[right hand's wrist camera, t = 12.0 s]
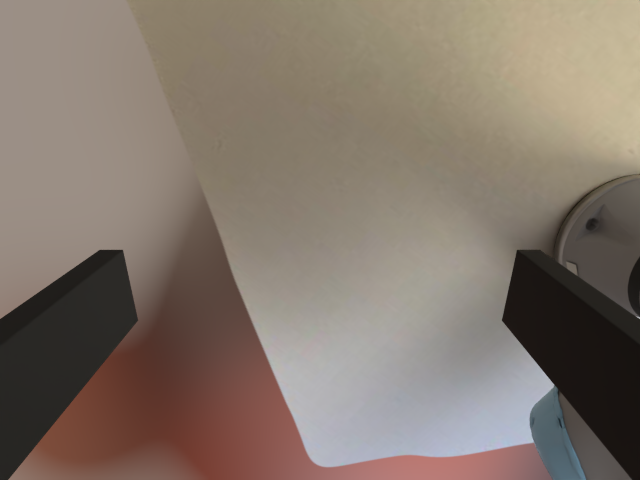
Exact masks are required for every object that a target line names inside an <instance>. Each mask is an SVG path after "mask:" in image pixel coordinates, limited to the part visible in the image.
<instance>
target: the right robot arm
mask: <svg viewBox="0 0 640 480" xmlns="http://www.w3.org/2000/svg"><path fill="white" fill-rule="evenodd" d="M636 316H638V317H640V174H639V175H631V176H626V177H622V178H619V179H616V180H613V181H611V182H608V183H606V184H604V185H602V186H601V187H599V188H597V189H596V190H594V191H592V192H591V193H590V194H588V195H587V196H586V197H585V198H583V199H582V200H581V201H580V202H579V203H578V204H577V205H576V206H575V207H574V208H573V210H572V211H571V212H570V213H569V215H568V216H567V218H566V219H565V221H564V222H563V224H562V226H561V228H560V230H559V233H558V236H557V239H556V243H555V249H554V259H552V258H551V257H550V256H548V255H547V254H545V253H544V252H542V251H541V250H517V253H516V258H515V262H514V267H513V272H512V276H511V281H510V286H509V290H508V295H507V300H506V304H505V309H504V314H503V318H502V321H503V322H504V323H505V325H506V326H507V327H508V328H509V330H510V331H511V332H512V333H513V334H514V336H515V337H516V338H517V339H518V341H519V342H520V343H521V344H522V345H523V347H524V348H525V349H526V350H527V352H528V353H529V354H530V355H531V357H532V358H533V359H534V360H535V361H536V363H537V364H538V365H539V366H540V368H541V369H542V370H543V371H544V372H545V374H546V375H547V376H548V377H549V379H550V380H551V381H552V382H553V384H554V388H553V389H552V390H551V391H549V392H548V393H547V394H546V395H545V396H544V397H543V398H542V399H541V400H540V401H539V402H537V403H536V404H535V405H534V407H533V408H532V411H531V413H530V428H531V432H532V437H533V440H534V443H535V446H536V448H537V451H538V453H539V455H540V457H541V459H542V461H543V463H544V465H545V467H546V469H547V470H548V472H549V474H550V476H551V477H552V479H553V480H640V319H639V318H637V317H636ZM137 321H138V318H137V314H136V309H135V304H134V300H133V295H132V290H131V286H130V281H129V276H128V272H127V267H126V262H125V258H124V253H123V250H99V251H98V252H96V253H95V254H93V255H92V256H90V257H89V258H88V259H86V260H85V261H83V262H82V263H80V264H79V265H77V266H76V267H75V268H73V269H72V270H70V271H69V272H67V273H66V274H65V275H63V276H62V277H60V278H59V279H57V280H56V281H54V282H53V283H52V284H50V285H49V286H47V287H46V288H44V289H43V290H41V291H40V292H39V293H37V294H36V295H34V296H33V297H31V298H30V299H29V300H27V301H26V302H24V303H23V304H21V305H20V306H18V307H17V308H16V309H14V310H13V311H11V312H10V313H8V314H7V315H5V316H4V317H3V318H1V319H0V480H8V479H9V478H10V477H11V476H12V474H13V473H14V472H15V471H16V469H17V468H18V467H19V466H20V464H21V463H22V462H23V461H24V460H25V458H26V457H27V456H28V455H29V453H30V452H31V451H32V450H33V449H34V447H35V446H36V445H37V444H38V442H39V441H40V440H41V439H42V437H43V436H44V435H45V434H46V433H47V431H48V430H49V429H50V428H51V426H52V425H53V424H54V423H55V422H56V420H57V419H58V418H59V417H60V415H61V414H62V413H63V412H64V411H65V409H66V408H67V407H68V406H69V404H70V403H71V402H72V401H73V399H74V398H75V397H76V396H77V395H78V393H79V392H80V391H81V390H82V388H83V387H84V386H85V385H86V384H87V382H88V381H89V380H90V379H91V377H92V376H93V375H94V374H95V372H96V371H97V370H98V369H99V368H100V366H101V365H102V364H103V363H104V361H105V360H106V359H107V358H108V356H109V355H110V354H111V353H112V352H113V350H114V349H115V348H116V347H117V345H118V344H119V343H120V342H121V341H122V339H123V338H124V337H125V336H126V334H127V333H128V332H129V331H130V330H131V328H132V327H133V326H134V325H135V323H136V322H137Z"/></svg>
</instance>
